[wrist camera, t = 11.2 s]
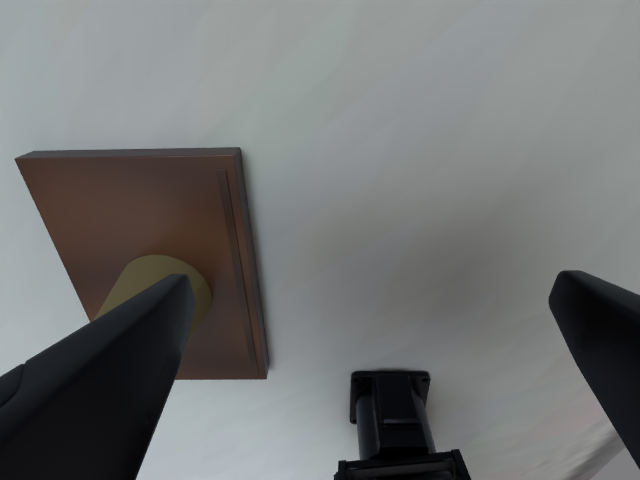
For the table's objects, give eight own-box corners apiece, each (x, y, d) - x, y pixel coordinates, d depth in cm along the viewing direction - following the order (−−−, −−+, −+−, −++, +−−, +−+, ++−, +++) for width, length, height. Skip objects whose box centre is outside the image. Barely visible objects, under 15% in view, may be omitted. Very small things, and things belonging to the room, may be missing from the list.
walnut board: (269, 364, 29) (266, 380, 28) (126, 365, 29) (116, 381, 28) (239, 147, 20) (233, 155, 19) (33, 150, 20) (12, 159, 19)
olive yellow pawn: (138, 328, 25) (24, 506, 16) (105, 258, 22) (-62, 424, 13) (221, 323, 25) (155, 502, 15) (198, 251, 22) (99, 417, 12)
